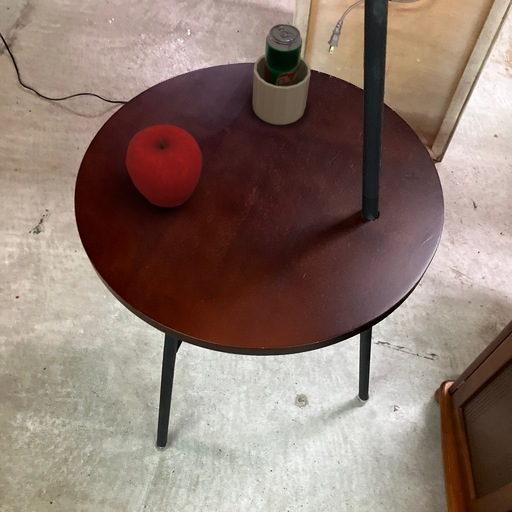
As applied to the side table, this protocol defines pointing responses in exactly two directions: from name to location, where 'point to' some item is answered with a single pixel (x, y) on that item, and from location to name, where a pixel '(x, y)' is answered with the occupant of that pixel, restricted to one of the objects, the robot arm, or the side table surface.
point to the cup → (280, 95)
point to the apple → (164, 164)
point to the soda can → (282, 55)
